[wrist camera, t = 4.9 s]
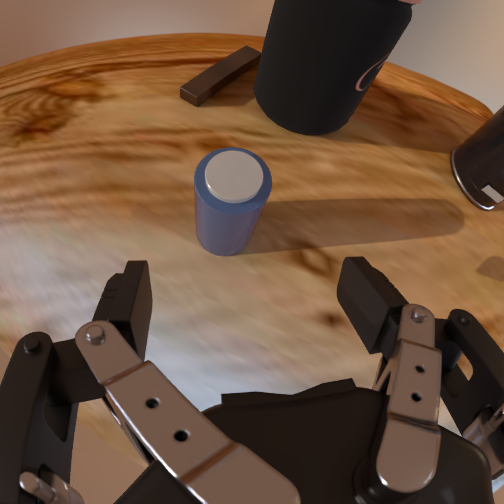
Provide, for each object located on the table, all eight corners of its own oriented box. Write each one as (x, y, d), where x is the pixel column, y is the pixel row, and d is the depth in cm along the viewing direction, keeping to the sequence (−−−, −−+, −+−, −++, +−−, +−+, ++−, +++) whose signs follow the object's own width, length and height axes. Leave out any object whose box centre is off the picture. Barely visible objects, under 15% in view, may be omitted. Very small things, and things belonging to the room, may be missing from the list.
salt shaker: (219, 194, 25) (228, 130, 17) (261, 226, 25) (289, 171, 17) (184, 233, 24) (177, 177, 16) (228, 267, 23) (242, 226, 15)
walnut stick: (244, 54, 31) (246, 45, 30) (260, 62, 31) (262, 53, 30) (179, 97, 28) (179, 87, 26) (197, 107, 28) (197, 97, 26)
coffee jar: (340, 155, 28) (437, 14, 11) (237, 118, 28) (275, -53, 11) (349, 93, 32) (416, -23, 15) (266, 62, 31) (303, -67, 14)
